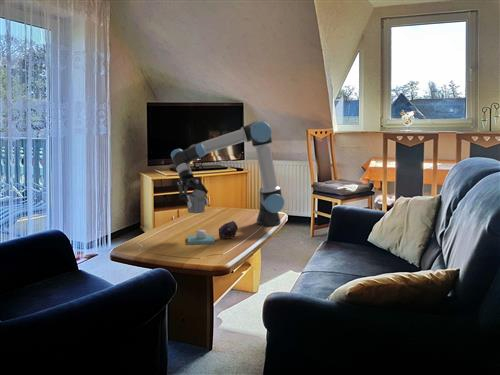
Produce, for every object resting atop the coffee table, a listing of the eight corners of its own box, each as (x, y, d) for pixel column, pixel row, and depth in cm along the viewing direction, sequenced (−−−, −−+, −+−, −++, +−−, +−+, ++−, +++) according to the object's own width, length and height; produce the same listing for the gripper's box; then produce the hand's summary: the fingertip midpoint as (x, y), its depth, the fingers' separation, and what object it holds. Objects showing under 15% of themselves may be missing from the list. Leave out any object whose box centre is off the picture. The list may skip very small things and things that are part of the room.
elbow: (184, 210, 242) (184, 188, 240) (199, 209, 247) (199, 187, 245) (194, 214, 233) (193, 191, 231) (209, 212, 238) (209, 190, 237)
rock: (216, 240, 243) (231, 242, 238) (214, 225, 241) (229, 228, 235) (229, 232, 253) (243, 235, 247) (227, 218, 250) (242, 220, 245)
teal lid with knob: (213, 237, 244) (213, 227, 243) (214, 243, 232) (214, 233, 231) (188, 238, 242) (187, 228, 241) (187, 244, 230) (187, 234, 230)
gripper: (199, 175, 257) (214, 207, 246) (165, 178, 244) (178, 211, 234) (204, 167, 251) (219, 199, 241) (169, 169, 239) (183, 203, 229)
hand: (199, 205), depth 237 cm, fingers closed on elbow, 9 cm apart
